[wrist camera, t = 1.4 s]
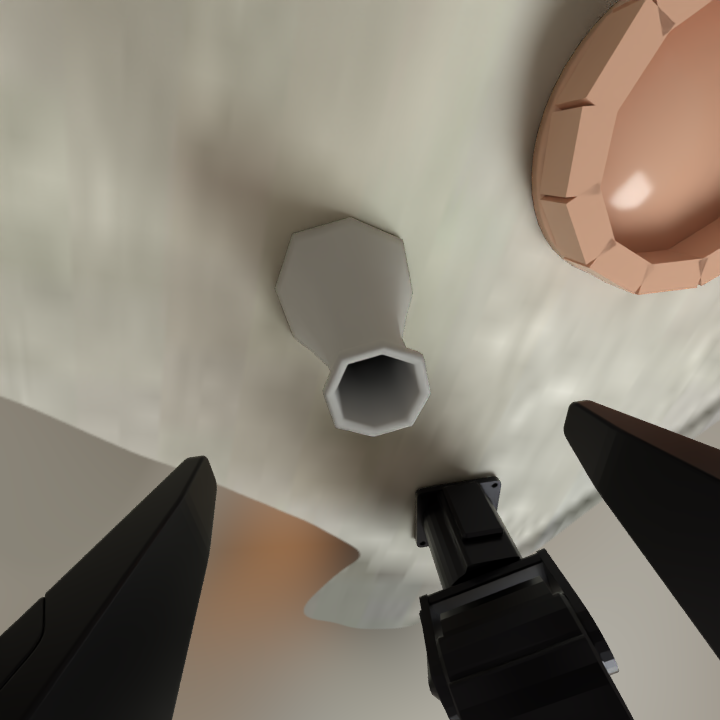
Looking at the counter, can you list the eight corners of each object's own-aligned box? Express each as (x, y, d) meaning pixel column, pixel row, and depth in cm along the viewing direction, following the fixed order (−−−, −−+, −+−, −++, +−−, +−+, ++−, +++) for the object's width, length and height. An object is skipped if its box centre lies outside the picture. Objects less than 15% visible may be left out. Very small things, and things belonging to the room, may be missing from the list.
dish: (724, 262, 22) (782, 277, 19) (514, 287, 20) (545, 306, 18) (854, -50, 15) (968, -93, 13) (559, -37, 14) (617, -81, 12)
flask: (272, 211, 17) (239, 265, 8) (421, 220, 18) (528, 276, 9) (277, 349, 20) (257, 490, 12) (402, 350, 22) (469, 479, 13)
